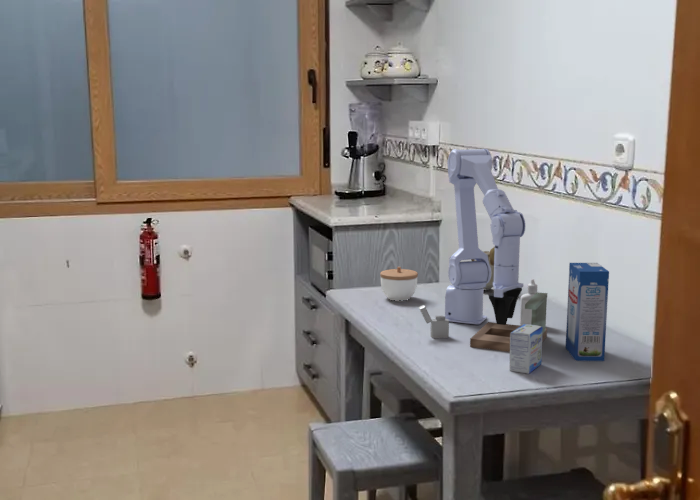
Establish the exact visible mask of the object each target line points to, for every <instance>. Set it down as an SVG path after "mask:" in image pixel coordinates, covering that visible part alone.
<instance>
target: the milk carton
mask: <svg viewBox="0 0 700 500" xmlns="http://www.w3.org/2000/svg"><path fill="white" fill-rule="evenodd" d="M568 267H569V268H568V269H569V271H568V288H567V289H568V290H567V293H568V294H567V308H566V309H567V310H566V312H567V313H566V332H565V334H566V335H565V349H566V350H567V351H569V352H568V353H569V354H570V355H571V357H572V356H573V357H572V358H573V360H574V361H575V360H576V361H577V362H605V351H606V337H607V335H606V333H607V318H608V316H607V315H608V300H609V285H610V284H609V281H610V271H609V270H608V269H606V268H605V267H604V266H602V265H601V264H599V263H598V262H569V266H568ZM576 361H575V362H576Z"/></svg>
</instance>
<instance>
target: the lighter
mask: <svg viewBox="0 0 700 500" xmlns="http://www.w3.org/2000/svg"><path fill="white" fill-rule="evenodd" d="M418 308H419V309H418V310H419V311H420V313H421V315H422V317H423V318H424V322H425V323H426V324H430V338H432V339H444V338H445V339H446V338H447V339H448V338H450V337H449V335H450V321H449V320H448V319H445V315H435V319H433V318H432V317H431V315H430V313H429V311H428V309H427V307H426V305H424V304H422V305H420V306H418Z"/></svg>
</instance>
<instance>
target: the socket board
mask: <svg viewBox="0 0 700 500" xmlns="http://www.w3.org/2000/svg"><path fill="white" fill-rule="evenodd" d="M547 301H548V292H539V291H537V293H536V294H535V295H534V296H533V297H532V298H531V299H530V300H529V301H528V302H527V303H526V304H525V309H532V321H531V325H537V326H542V327H543V331H542V343H543V342H544V341H545V339H546V338H547V336H548V328H547V327H546V326H547V325H546V324H547V321H546V320H547V305H548V304H547ZM519 327H521V325H520V324H511V323H510V324H509V323H506V325H500V324H497V323H496V322H489V321H488V322H487V323H485V324H484V325H483V326H482V327H481V328H480V329H479V330H478V331H477V332H475V334H474V335H473V336H472V337H470V339H469V343H470V344H469V347H470V348H476V349H477V348H478V349H485V350H493V351H501V352H508V353H510V333H511V332H513V331H514V330H516V329H517V328H519Z"/></svg>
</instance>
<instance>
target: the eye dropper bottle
mask: <svg viewBox="0 0 700 500" xmlns="http://www.w3.org/2000/svg"><path fill="white" fill-rule="evenodd" d="M526 291H527V293H524V294H522V295H521V296H520V304H519V325H520V326H522V325H524V324H529V325H531V321H532V309H525V304H526V303H527V302H528V301H529V300H530V299H531V298H532V297H533V296H534V295H535V294H536V293H537V292H538V284H536V281H535V279H533V278H531V280H530V282H529V283H528V284H527V290H526Z"/></svg>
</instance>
